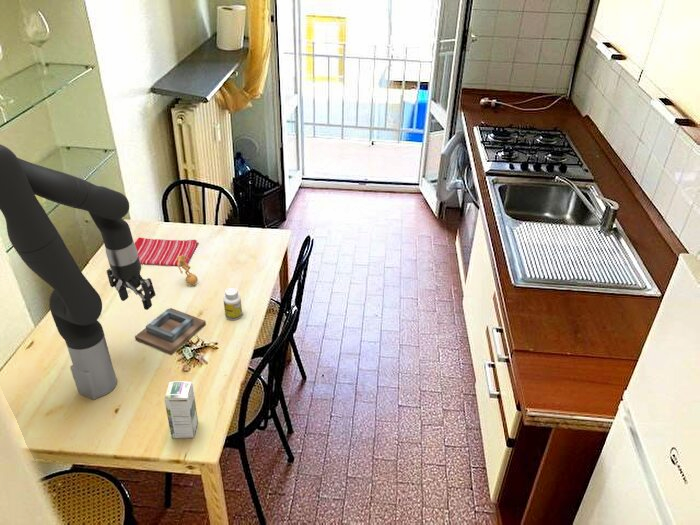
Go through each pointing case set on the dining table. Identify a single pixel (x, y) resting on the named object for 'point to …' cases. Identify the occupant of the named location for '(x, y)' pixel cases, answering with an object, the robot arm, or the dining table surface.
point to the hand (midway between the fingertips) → (136, 303)
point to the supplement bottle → (232, 304)
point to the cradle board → (170, 330)
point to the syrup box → (181, 409)
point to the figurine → (187, 270)
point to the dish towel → (164, 251)
